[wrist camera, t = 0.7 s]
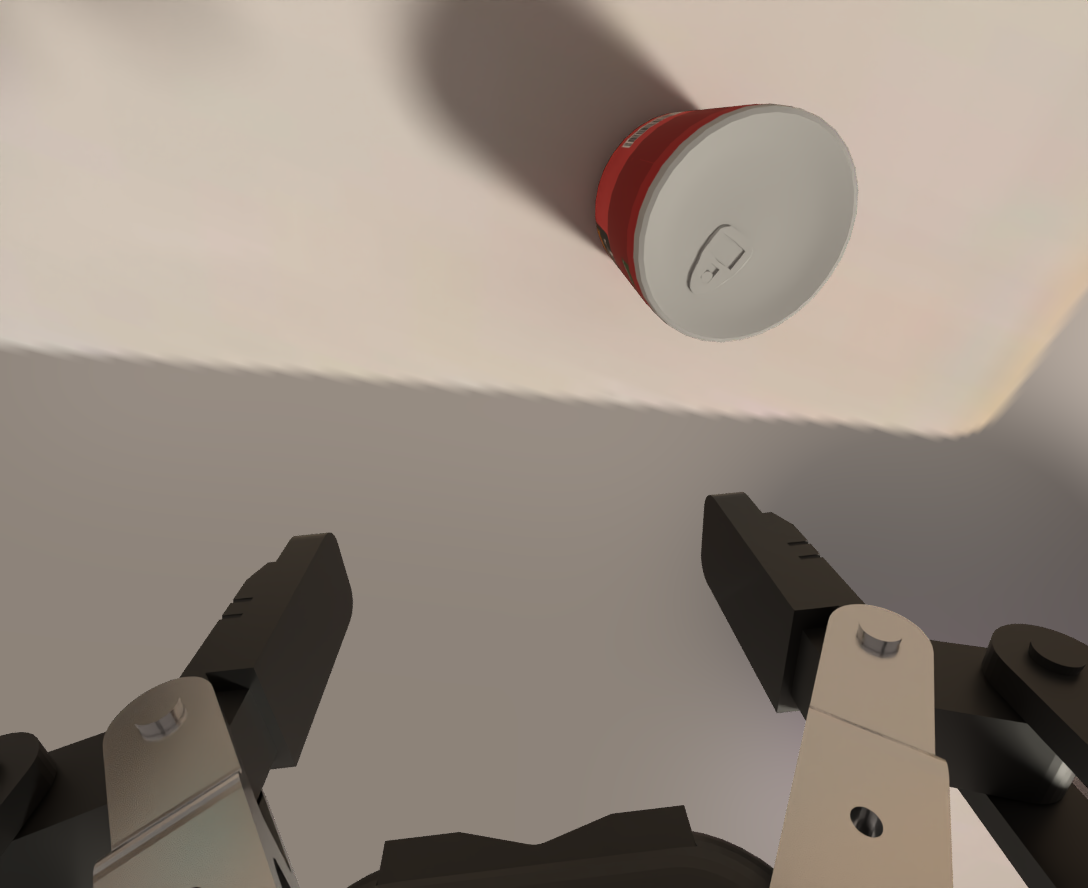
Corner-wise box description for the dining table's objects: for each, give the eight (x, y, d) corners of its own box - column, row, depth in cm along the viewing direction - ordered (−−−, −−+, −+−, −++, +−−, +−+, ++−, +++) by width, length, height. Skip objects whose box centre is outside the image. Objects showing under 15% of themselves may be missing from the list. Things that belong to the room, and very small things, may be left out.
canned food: (570, 249, 29) (602, 309, 19) (631, 83, 25) (707, 57, 15) (692, 294, 30) (776, 369, 21) (766, 145, 26) (909, 156, 17)
